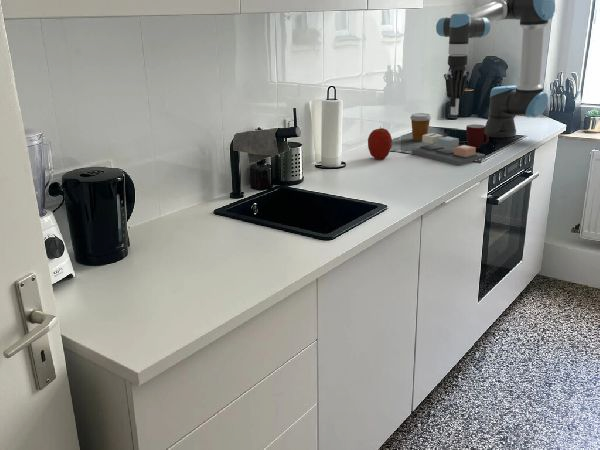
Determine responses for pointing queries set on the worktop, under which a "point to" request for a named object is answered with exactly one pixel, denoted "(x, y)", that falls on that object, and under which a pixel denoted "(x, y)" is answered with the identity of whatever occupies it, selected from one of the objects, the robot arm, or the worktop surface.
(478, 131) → the mug
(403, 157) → the worktop surface
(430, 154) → the keypad base
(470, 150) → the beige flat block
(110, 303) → the worktop surface
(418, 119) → the disposable coffee cup
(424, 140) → the key cream
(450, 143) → the key slate
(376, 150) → the apple
